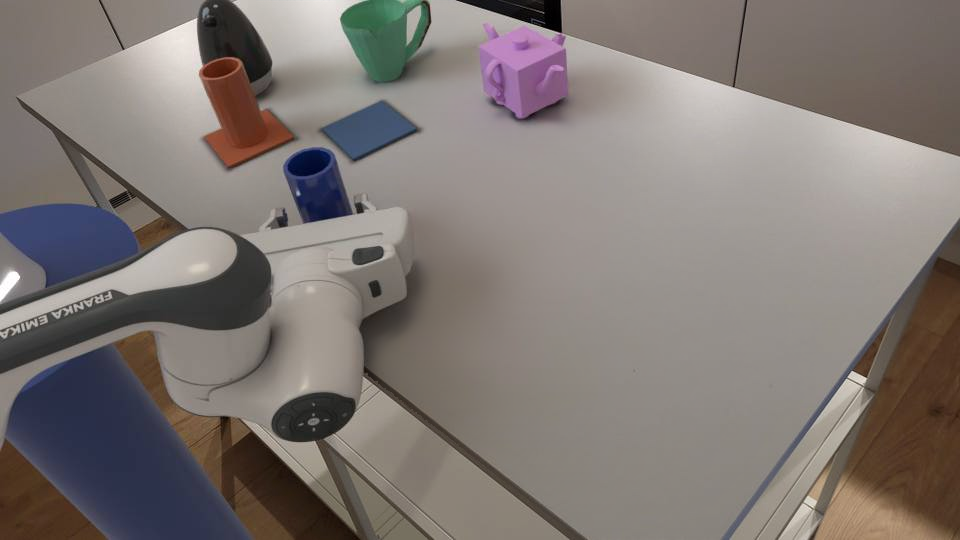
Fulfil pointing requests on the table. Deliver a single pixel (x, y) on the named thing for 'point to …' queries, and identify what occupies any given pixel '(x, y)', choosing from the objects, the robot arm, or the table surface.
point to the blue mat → (368, 130)
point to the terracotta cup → (233, 102)
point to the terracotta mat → (239, 155)
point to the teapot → (524, 69)
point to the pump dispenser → (233, 41)
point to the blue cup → (317, 185)
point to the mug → (384, 34)
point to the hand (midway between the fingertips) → (320, 205)
